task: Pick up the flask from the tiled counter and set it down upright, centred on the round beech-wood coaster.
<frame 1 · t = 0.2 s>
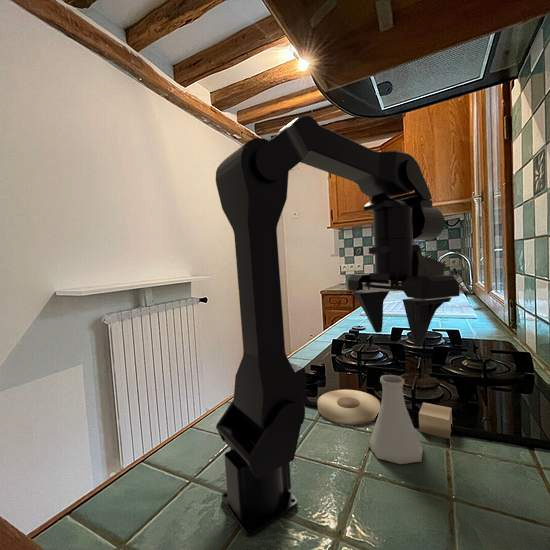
hand: (396, 338, 48), 14 cm above the countertop, fingers open, 9 cm apart
cork block: (435, 429, 46), on the countertop
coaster: (348, 408, 54), on the countertop
flask: (395, 450, 42), on the countertop
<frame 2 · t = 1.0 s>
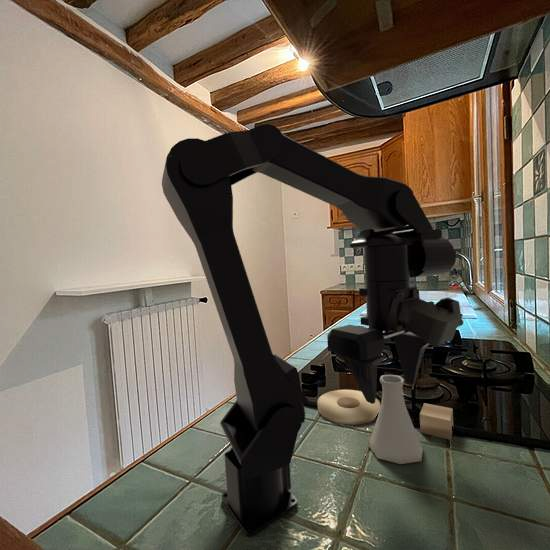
hand: (391, 392, 42), 8 cm above the countertop, fingers open, 9 cm apart
nothing on the countertop moved.
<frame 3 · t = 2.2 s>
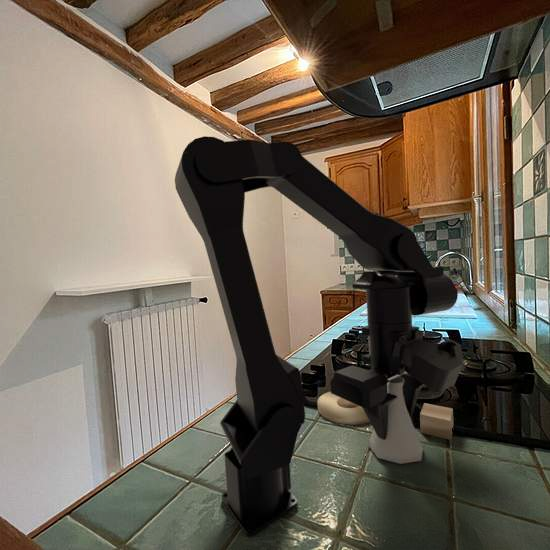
hand: (394, 430, 42), 3 cm above the countertop, fingers closed on flask, 5 cm apart
flask: (395, 449, 42), on the countertop, touching gripper
everything else where it was.
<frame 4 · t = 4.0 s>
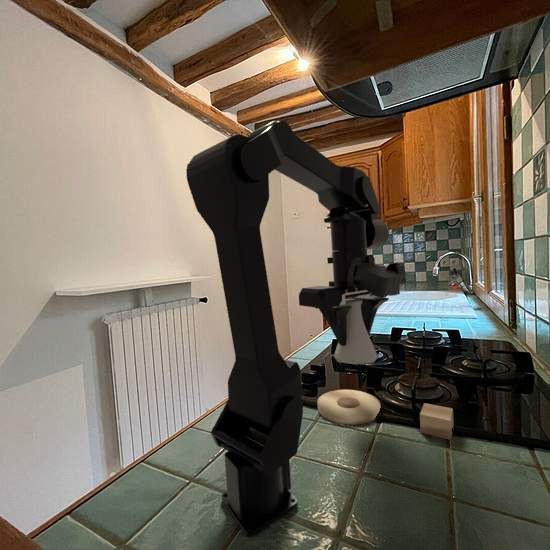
hand: (354, 342, 51), 13 cm above the countertop, fingers closed on flask, 5 cm apart
flask: (355, 359, 51), point 10 cm above the countertop, touching gripper
everything else where it was.
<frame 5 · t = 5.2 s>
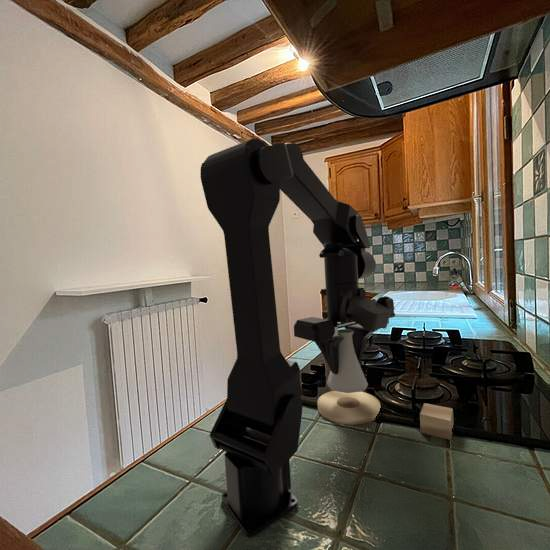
hand: (346, 369, 54), 7 cm above the countertop, fingers closed on flask, 5 cm apart
flask: (347, 387, 54), point 4 cm above the countertop, touching gripper
everything else where it was.
when the fingers open (4 cm above the countertop, at t = 6.1 s): flask stays where it is, resting on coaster.
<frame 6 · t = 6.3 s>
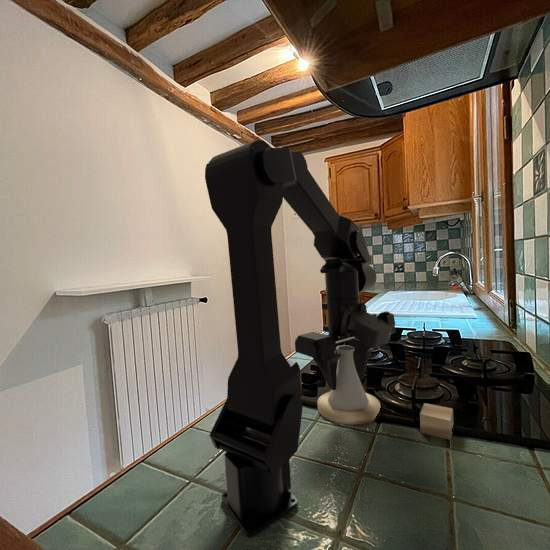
hand: (347, 383, 54), 4 cm above the countertop, fingers open, 7 cm apart
flask: (348, 403, 54), point 1 cm above the countertop, touching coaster
everything else where it was.
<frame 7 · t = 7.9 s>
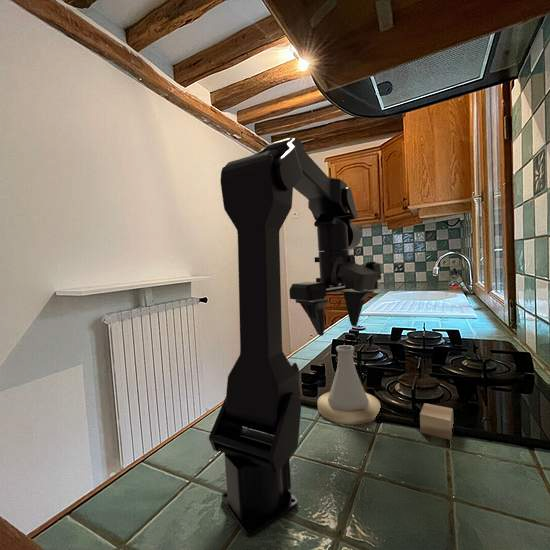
hand: (338, 330, 59), 13 cm above the countertop, fingers open, 9 cm apart
nothing on the countertop moved.
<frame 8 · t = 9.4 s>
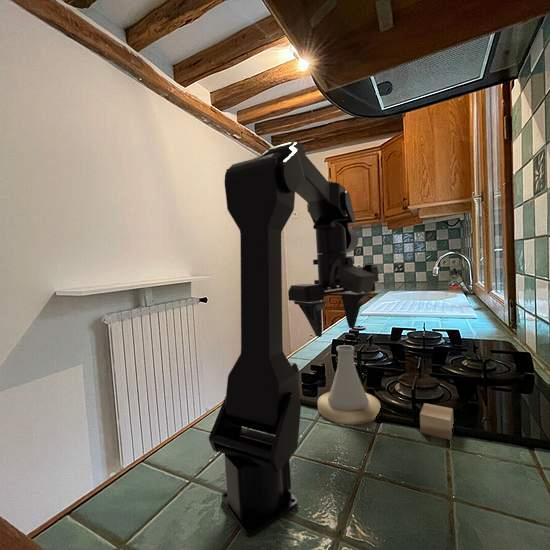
hand: (336, 332, 60), 12 cm above the countertop, fingers open, 9 cm apart
nothing on the countertop moved.
at the end: flask 0.1 cm from the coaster (horizontally); flask tilted 0°; flask point 0.9 cm above the countertop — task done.
